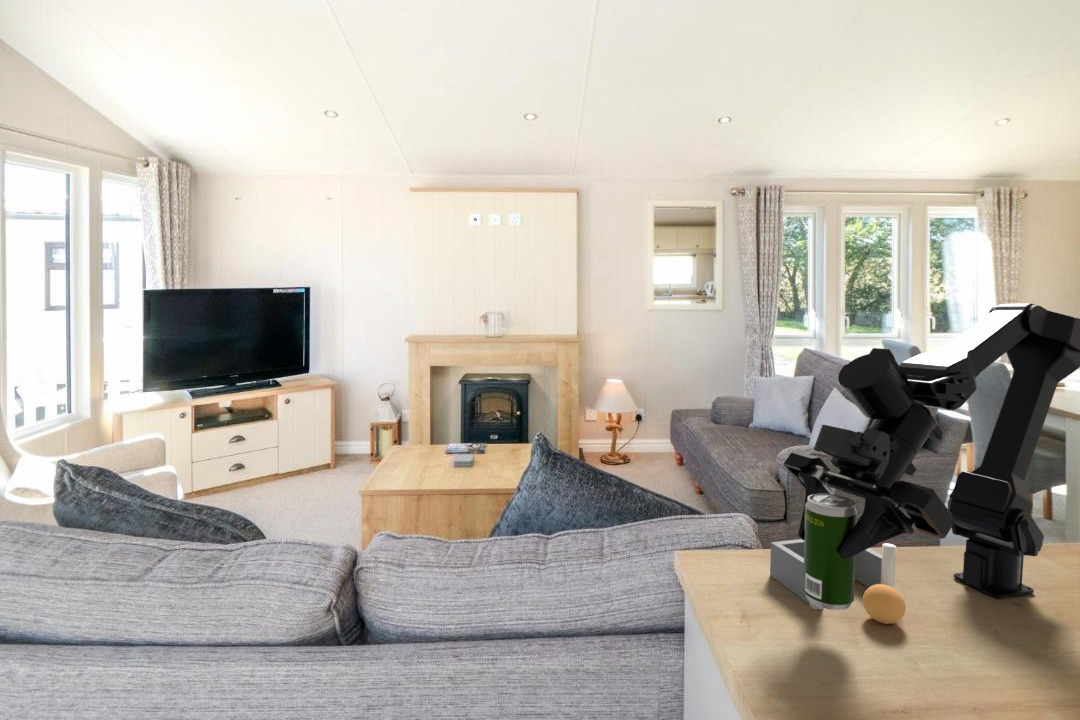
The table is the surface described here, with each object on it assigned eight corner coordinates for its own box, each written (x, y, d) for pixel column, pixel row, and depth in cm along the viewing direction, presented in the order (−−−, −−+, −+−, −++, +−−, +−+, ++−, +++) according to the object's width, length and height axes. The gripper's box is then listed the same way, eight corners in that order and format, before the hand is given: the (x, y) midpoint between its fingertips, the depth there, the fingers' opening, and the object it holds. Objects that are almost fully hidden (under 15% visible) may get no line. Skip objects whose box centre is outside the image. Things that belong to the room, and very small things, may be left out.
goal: (842, 566, 85) (844, 521, 85) (897, 598, 76) (899, 547, 75) (768, 576, 82) (769, 529, 82) (815, 610, 73) (817, 557, 72)
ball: (883, 609, 73) (885, 575, 73) (913, 628, 69) (915, 592, 68) (853, 614, 72) (855, 579, 72) (882, 633, 68) (884, 597, 67)
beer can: (838, 616, 63) (841, 511, 62) (793, 596, 68) (795, 498, 67) (863, 602, 66) (866, 501, 65) (818, 584, 71) (821, 490, 70)
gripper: (795, 390, 75) (727, 483, 72) (940, 413, 58) (858, 536, 55) (837, 443, 79) (774, 533, 75) (985, 479, 61) (911, 598, 58)
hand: (820, 547), depth 66 cm, fingers closed on beer can, 5 cm apart
